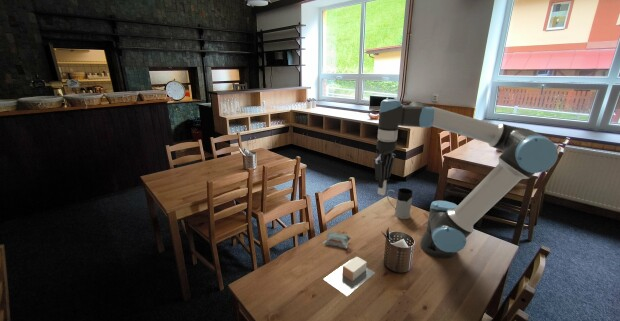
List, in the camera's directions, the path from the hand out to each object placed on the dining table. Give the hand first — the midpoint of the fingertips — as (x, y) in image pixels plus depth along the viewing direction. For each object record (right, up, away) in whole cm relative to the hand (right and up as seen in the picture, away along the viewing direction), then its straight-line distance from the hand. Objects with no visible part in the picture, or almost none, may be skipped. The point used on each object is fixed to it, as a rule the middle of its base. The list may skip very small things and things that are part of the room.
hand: (381, 194), depth 120 cm
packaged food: (-17, -26, +15) cm, 35 cm away
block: (-15, -30, -8) cm, 35 cm away
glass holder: (+20, -17, +44) cm, 51 cm away
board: (-14, -33, -6) cm, 36 cm away
